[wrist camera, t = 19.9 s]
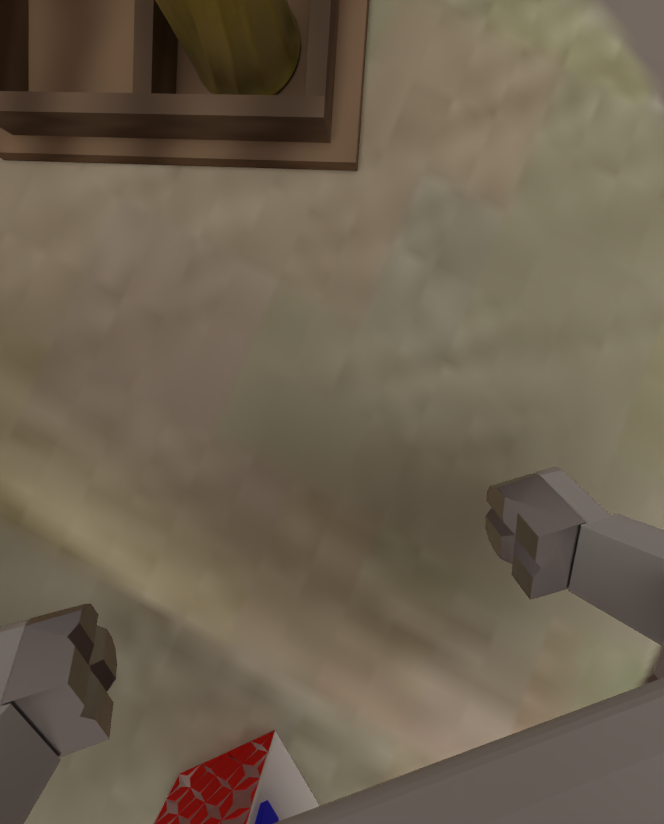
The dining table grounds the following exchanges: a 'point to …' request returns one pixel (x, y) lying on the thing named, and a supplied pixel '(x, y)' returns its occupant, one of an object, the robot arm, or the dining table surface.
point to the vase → (237, 42)
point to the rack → (172, 90)
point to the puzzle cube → (239, 788)
